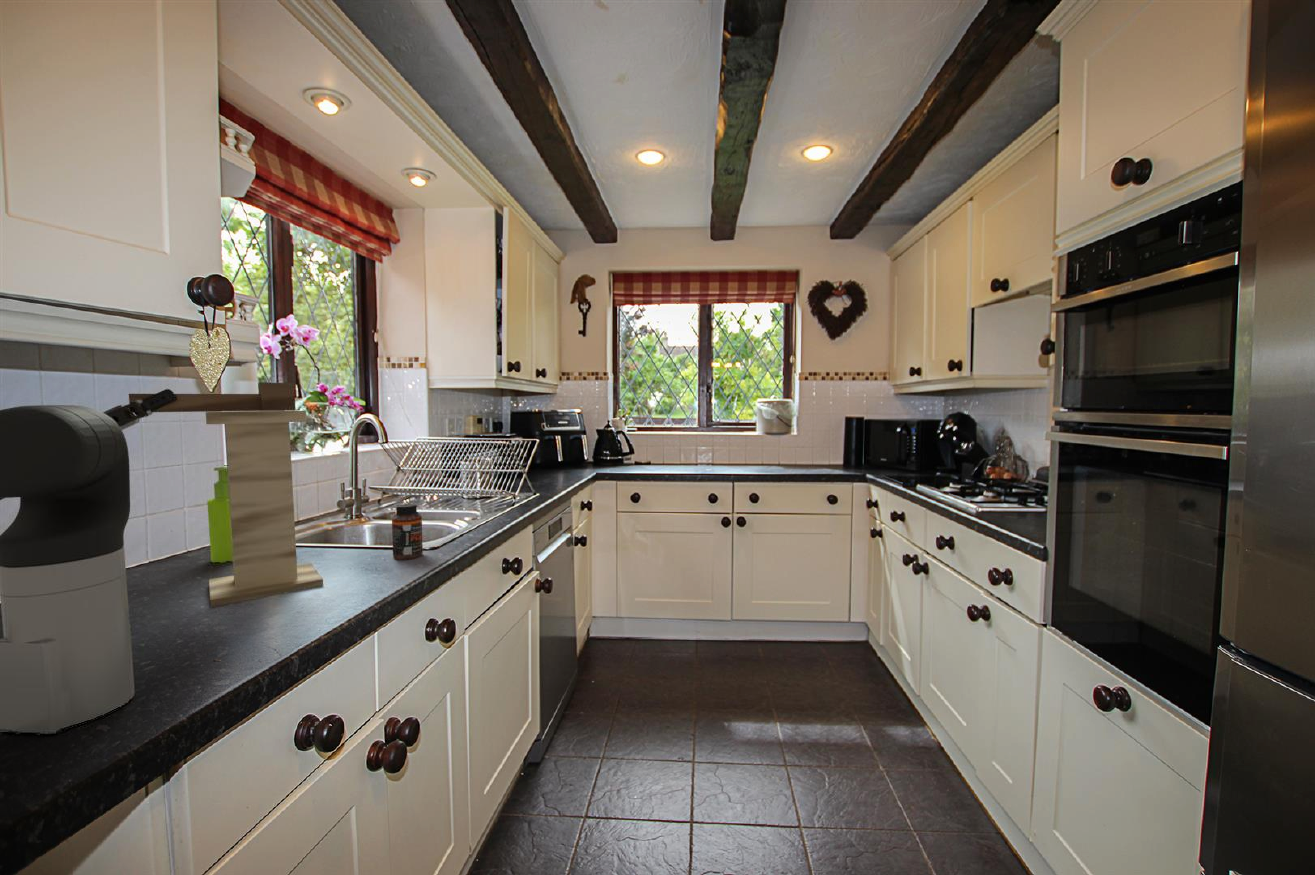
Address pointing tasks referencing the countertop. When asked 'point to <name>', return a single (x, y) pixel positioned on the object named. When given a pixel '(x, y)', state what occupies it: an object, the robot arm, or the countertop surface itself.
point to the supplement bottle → (407, 532)
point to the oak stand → (260, 507)
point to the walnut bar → (232, 400)
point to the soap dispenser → (220, 520)
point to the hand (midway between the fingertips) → (173, 394)
